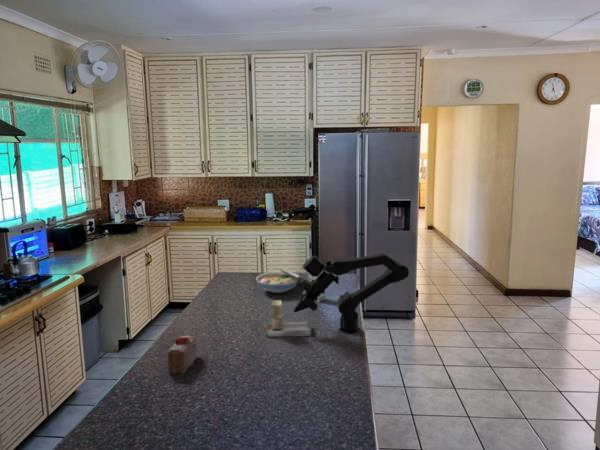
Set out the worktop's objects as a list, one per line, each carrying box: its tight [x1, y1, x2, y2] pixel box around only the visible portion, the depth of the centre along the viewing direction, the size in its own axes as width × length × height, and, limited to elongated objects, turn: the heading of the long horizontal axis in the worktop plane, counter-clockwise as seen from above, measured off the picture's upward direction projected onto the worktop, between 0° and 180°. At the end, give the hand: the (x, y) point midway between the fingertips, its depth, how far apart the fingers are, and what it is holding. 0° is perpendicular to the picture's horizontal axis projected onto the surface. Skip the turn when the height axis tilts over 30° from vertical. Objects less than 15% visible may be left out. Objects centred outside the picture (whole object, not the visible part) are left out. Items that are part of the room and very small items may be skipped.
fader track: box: [265, 321, 312, 338], centre depth 185 cm, size 18×8×2 cm, turn 92°
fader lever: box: [271, 299, 283, 330], centre depth 183 cm, size 4×6×11 cm
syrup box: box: [308, 271, 326, 303], centre depth 221 cm, size 6×6×14 cm
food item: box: [166, 334, 200, 374], centre depth 159 cm, size 14×8×10 cm, turn 175°
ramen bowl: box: [255, 268, 301, 294], centre depth 235 cm, size 25×23×8 cm
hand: (294, 311), depth 183 cm, fingers closed
